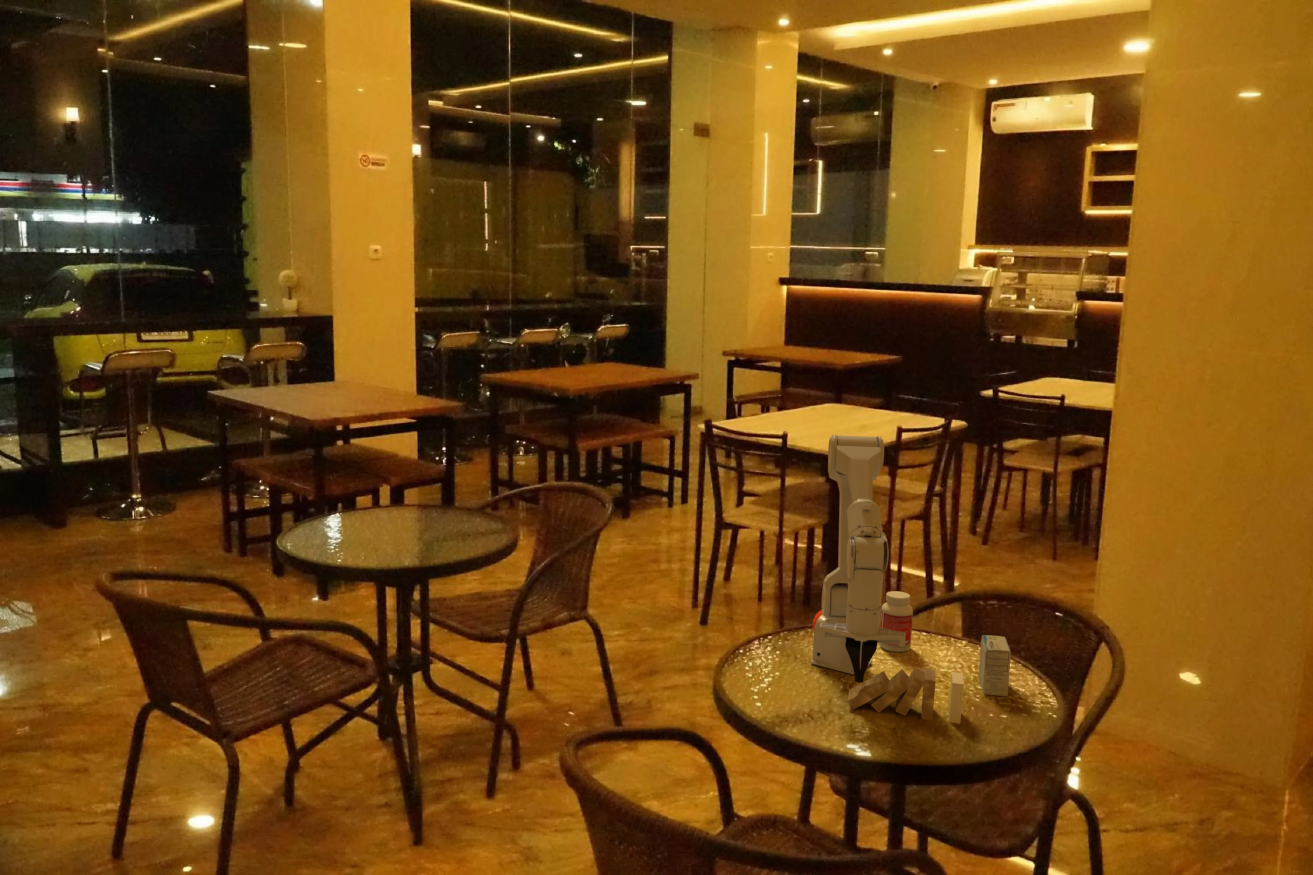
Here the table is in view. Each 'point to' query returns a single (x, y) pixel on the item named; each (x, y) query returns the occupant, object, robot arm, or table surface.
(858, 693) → the domino
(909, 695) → the domino
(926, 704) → the domino
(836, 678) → the table surface
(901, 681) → the domino
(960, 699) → the end domino
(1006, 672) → the medicine box
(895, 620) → the pill bottle
